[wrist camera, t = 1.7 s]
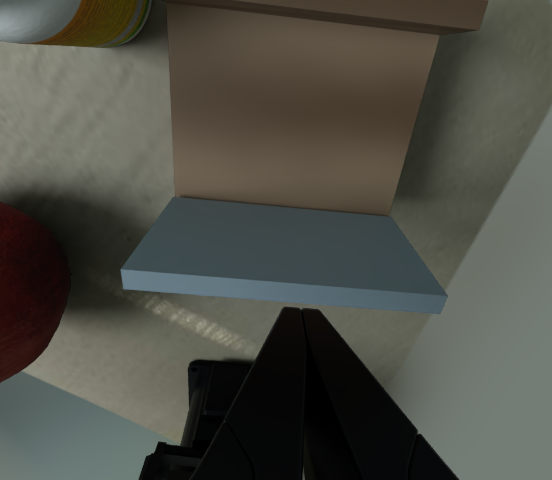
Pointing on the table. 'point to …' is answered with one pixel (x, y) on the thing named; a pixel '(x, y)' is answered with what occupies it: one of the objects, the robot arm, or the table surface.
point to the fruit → (28, 289)
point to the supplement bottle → (72, 21)
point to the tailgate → (282, 257)
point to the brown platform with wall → (301, 96)
